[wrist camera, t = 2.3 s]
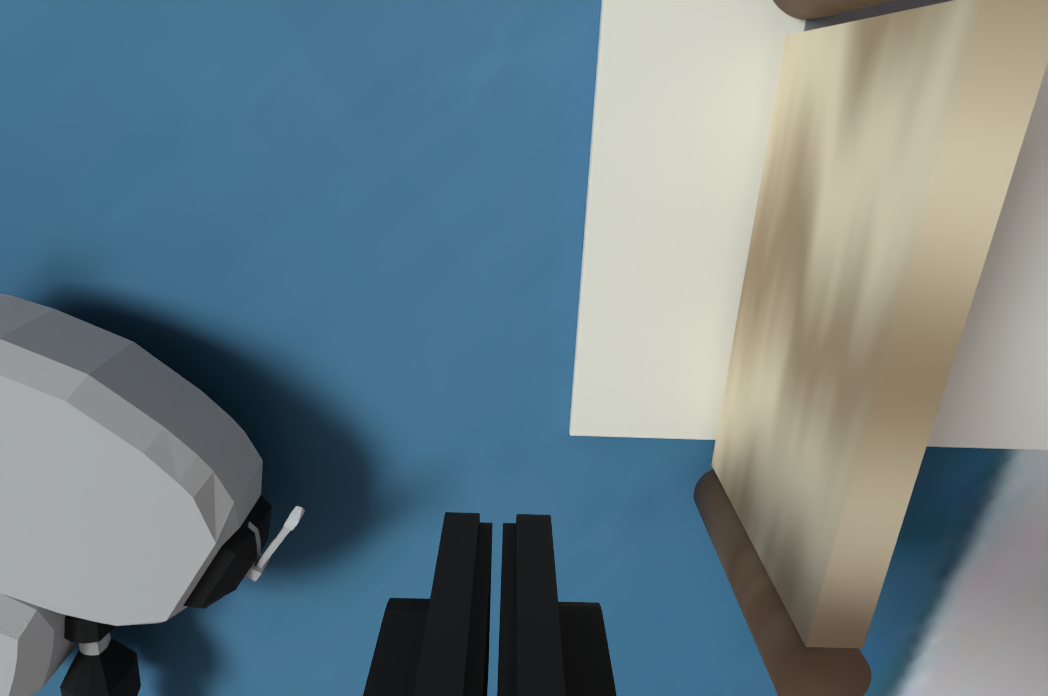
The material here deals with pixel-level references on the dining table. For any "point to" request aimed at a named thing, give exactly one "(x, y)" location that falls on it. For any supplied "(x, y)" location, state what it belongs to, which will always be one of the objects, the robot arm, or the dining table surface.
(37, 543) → the robot toy
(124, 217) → the dining table surface
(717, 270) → the card
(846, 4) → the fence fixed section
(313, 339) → the dining table surface
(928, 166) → the fence swing section
